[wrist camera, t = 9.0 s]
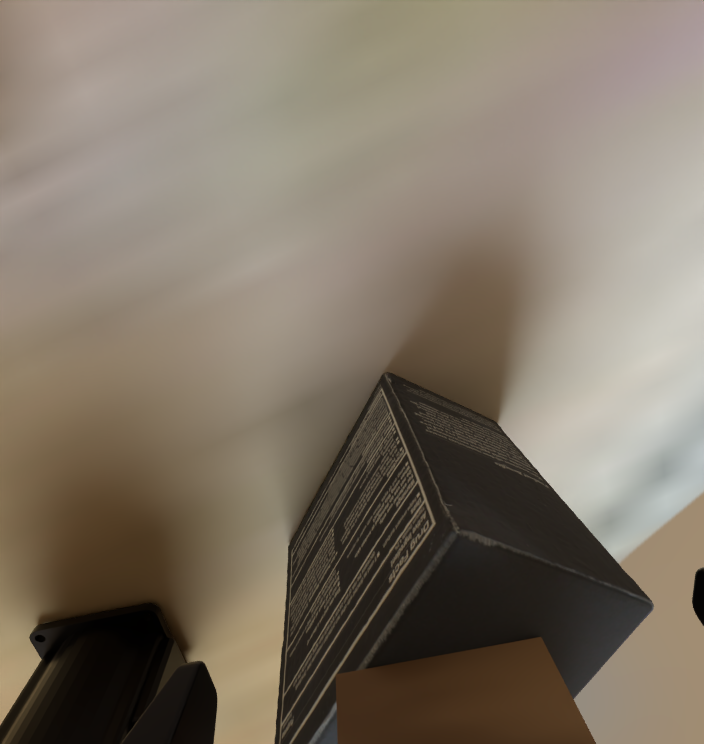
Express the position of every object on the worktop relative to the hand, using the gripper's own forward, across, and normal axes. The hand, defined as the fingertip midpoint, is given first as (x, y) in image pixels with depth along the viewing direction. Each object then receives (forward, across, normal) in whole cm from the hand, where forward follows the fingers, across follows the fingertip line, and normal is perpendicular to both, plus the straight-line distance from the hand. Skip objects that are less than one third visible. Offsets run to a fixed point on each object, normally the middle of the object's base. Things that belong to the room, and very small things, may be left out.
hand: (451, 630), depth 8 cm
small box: (+12, 0, +5) cm, 14 cm away
